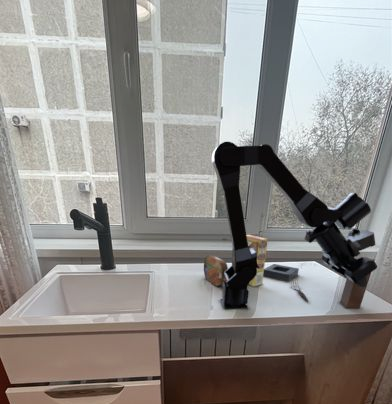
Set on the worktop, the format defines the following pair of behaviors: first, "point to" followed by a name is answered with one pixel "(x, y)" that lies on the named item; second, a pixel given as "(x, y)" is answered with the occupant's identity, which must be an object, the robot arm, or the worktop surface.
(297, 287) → the fork
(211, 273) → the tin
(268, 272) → the base pad
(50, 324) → the worktop surface
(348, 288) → the walnut post
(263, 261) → the candy box
